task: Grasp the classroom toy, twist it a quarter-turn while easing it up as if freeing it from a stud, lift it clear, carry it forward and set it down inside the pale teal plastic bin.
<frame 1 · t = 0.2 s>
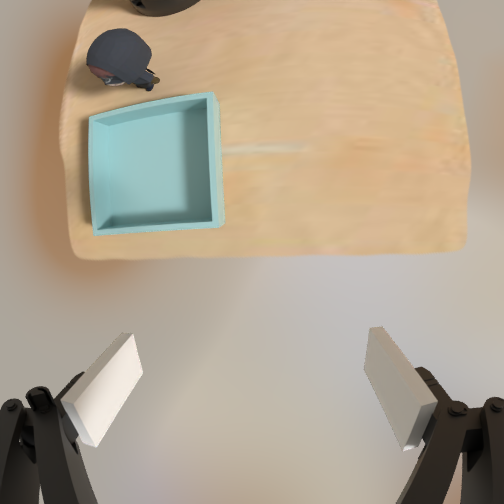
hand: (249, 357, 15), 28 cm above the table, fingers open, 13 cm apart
bin: (160, 167, 40), on the table
toy: (148, 82, 37), on the table
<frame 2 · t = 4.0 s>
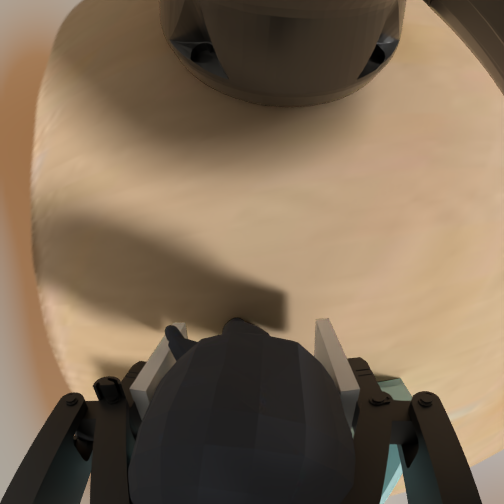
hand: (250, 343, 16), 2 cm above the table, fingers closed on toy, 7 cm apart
bin: (282, 458, 21), on the table
toy: (253, 325, 18), on the table, touching gripper
when the fingers open (3 cm above the table, at t = 9.9 s): toy stays where it is, resting on bin.
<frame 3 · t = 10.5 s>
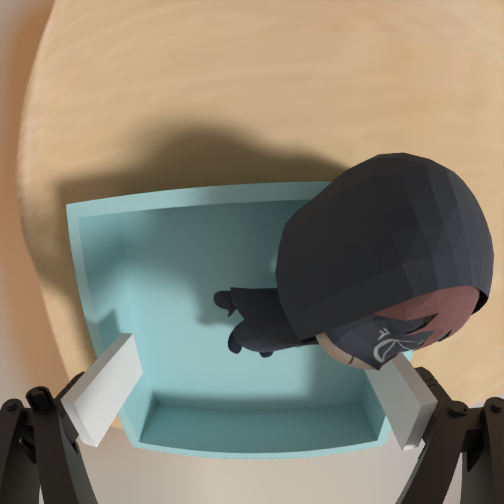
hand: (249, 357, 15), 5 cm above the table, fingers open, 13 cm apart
bin: (253, 318, 20), on the table
toy: (248, 335, 18), point 2 cm above the table, touching bin, gripper
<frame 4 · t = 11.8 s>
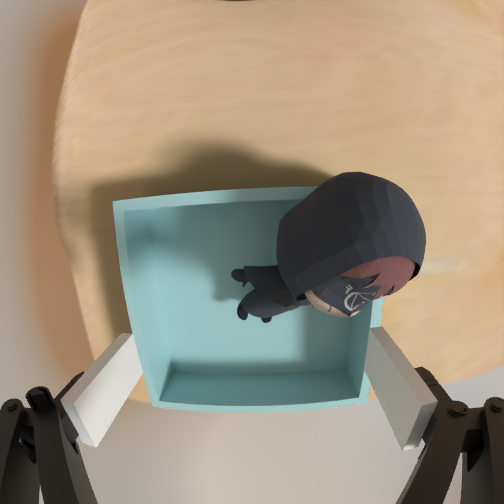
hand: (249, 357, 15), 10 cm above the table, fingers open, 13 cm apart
bin: (255, 293, 25), on the table
toy: (251, 306, 24), point 1 cm above the table, touching bin
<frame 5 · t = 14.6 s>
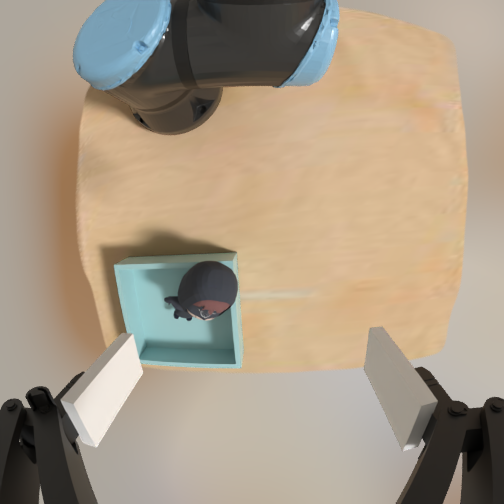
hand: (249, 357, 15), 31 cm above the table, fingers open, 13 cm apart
bin: (185, 305, 47), on the table
toy: (182, 312, 46), point 1 cm above the table, touching bin
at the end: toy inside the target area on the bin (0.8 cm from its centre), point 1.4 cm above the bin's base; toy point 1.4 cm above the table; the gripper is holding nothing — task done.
